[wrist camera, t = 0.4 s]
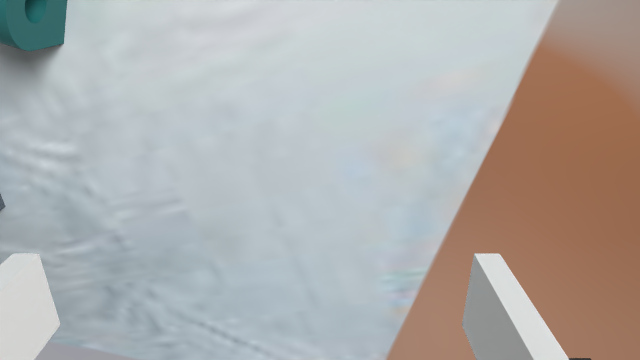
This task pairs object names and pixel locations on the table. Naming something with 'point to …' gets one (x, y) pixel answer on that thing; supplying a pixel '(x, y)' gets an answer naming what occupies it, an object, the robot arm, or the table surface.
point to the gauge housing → (1, 203)
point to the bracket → (32, 23)
